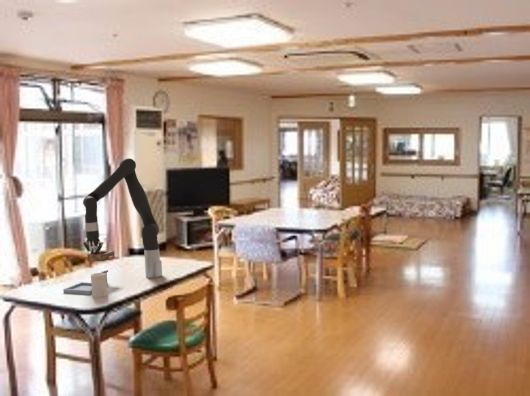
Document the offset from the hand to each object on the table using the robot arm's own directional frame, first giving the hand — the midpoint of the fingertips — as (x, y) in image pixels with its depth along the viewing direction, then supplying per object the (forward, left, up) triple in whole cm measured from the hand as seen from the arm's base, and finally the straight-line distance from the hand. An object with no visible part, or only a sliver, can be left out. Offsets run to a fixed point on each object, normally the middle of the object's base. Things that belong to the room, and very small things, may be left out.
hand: (94, 258), depth 354 cm
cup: (-21, +24, -16) cm, 36 cm away
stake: (-7, 0, -15) cm, 17 cm away
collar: (-5, 0, -1) cm, 5 cm away
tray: (-5, +16, -15) cm, 23 cm away
